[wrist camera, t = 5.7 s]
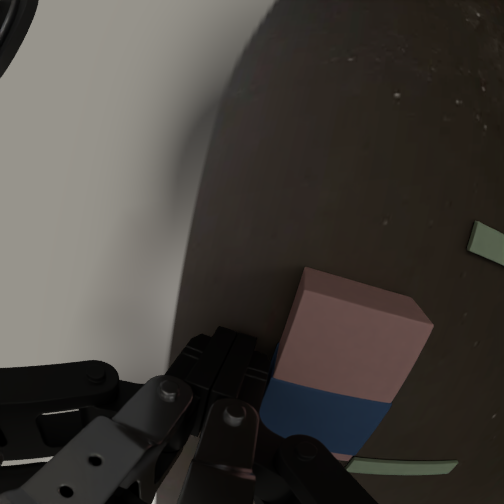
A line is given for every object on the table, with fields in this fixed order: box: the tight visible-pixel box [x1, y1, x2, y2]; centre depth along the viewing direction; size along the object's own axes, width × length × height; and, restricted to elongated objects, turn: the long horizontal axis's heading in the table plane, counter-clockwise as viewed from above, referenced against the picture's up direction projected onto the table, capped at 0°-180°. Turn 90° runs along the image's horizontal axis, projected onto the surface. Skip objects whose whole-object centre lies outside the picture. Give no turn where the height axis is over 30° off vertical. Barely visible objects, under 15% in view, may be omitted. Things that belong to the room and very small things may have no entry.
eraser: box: [260, 267, 434, 461], centre depth 10 cm, size 5×7×3 cm, turn 166°
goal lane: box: [345, 221, 504, 475], centre depth 10 cm, size 8×14×1 cm, turn 166°
